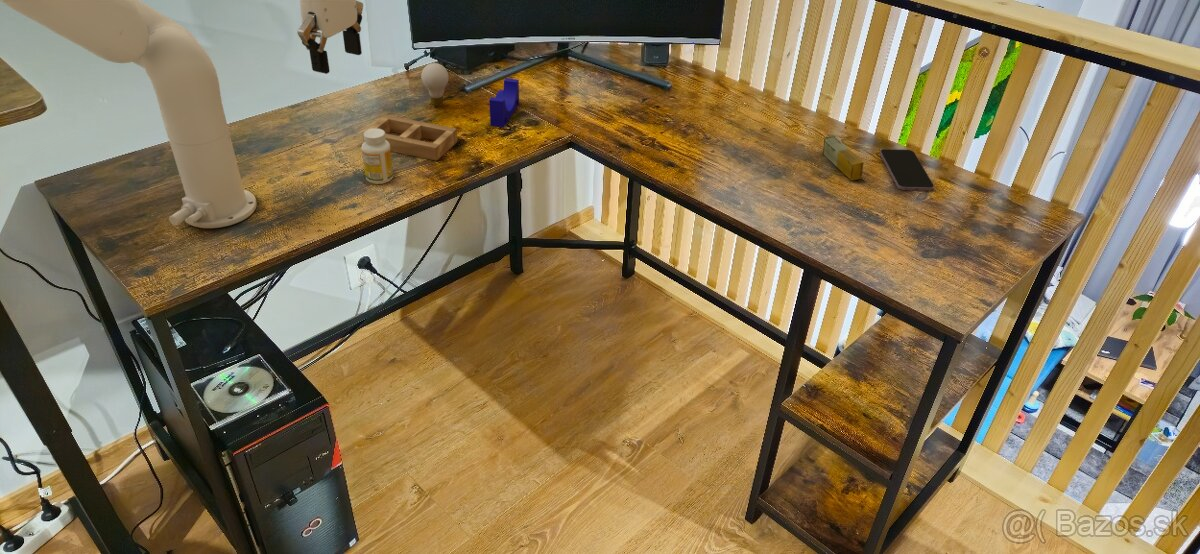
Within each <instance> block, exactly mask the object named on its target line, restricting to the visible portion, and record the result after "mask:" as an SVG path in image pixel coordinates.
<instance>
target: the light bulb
mask: <svg viewBox="0 0 1200 554" xmlns="http://www.w3.org/2000/svg"><path fill="white" fill-rule="evenodd" d="M420 77H421V83H422V84H423V86H424V87H425V89H427V91H428V94H429V96H430V103H431V105H432V106H434V107H436V108H439V107H441V106H442V105H443V104H444V93H445V88H446V86H447V85H448V82H449V73H448V70H447V69H446V68H445V66H444V65H442V64H440V63H438V62H431V63H428V64H426V66H424V67H423V69H422V71H421V74H420Z"/></svg>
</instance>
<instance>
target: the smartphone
mask: <svg viewBox="0 0 1200 554" xmlns="http://www.w3.org/2000/svg"><path fill="white" fill-rule="evenodd" d="M879 156H880V158H881V160H882V161H883V163H884V166H885V167H886V169H887V171H888V173H889V175H890V177H891V179H892V181H893V182H894V184H895V186H896V188H897V189H898V190H901V191H919V192H920V191H921V192H922V191H923V192H931V191H933V190H934V188H935V185H934V182H933V181H932V179H931V178H930V176H929V174H928V173H927V171H926V170H925V167H924V165H923V164H922V163H921V161H920V160H919V158H918V156H917V154H916V152H915V151H914V150H911V149H897V148H895V149H893V148H883V149H880V151H879Z"/></svg>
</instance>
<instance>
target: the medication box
mask: <svg viewBox="0 0 1200 554" xmlns="http://www.w3.org/2000/svg"><path fill="white" fill-rule="evenodd" d="M822 155H824V157H825V158H826V159H827V160H829V161H830V162H831V163H832V164H833V165H834V166H835V167H836V168H837V169H838V170H839V171H840V172H841V173H842V174H844V175H845V176H846V177H847V179H849V180H850V181H851V182H852V181H857V180H861V179H863V172H864V163H865V162H864V161H863V160H862V159H861V158H860V157H859V156H858V155H857V154H855V153H854V152H853V151H852V150H851V149H850V148H849V147H847V146H846V144H844V143H843V142H842V141H841V140H839V138H837V137H836V136H835V135H833V136H832V135H831V136H828V137H824V139H823V149H822Z"/></svg>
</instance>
